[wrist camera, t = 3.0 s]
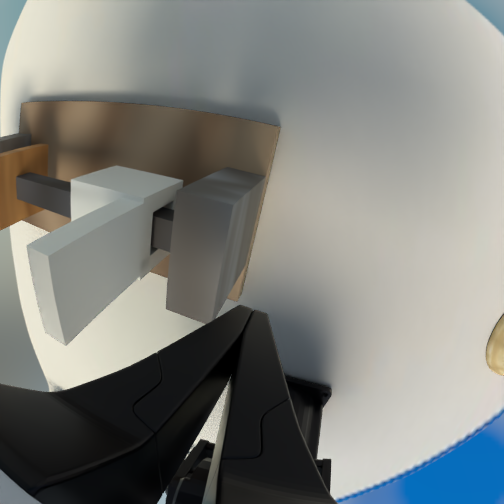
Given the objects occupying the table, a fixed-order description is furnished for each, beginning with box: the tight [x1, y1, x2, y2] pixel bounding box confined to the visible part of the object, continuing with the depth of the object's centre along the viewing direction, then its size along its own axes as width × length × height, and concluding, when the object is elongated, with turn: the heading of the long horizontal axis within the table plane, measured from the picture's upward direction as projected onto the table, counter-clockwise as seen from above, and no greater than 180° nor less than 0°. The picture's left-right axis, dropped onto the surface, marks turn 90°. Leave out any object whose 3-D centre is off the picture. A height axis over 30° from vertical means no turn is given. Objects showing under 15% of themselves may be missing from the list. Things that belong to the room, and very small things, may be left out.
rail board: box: [0, 101, 281, 324], centre depth 15 cm, size 20×10×7 cm, turn 79°
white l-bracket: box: [27, 165, 183, 346], centre depth 11 cm, size 4×4×8 cm
